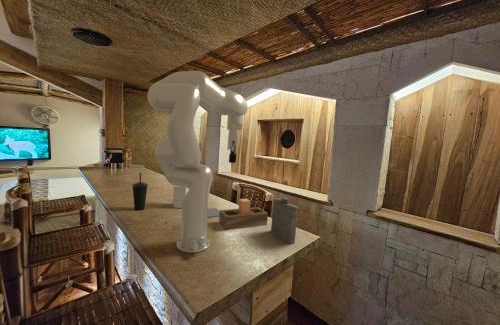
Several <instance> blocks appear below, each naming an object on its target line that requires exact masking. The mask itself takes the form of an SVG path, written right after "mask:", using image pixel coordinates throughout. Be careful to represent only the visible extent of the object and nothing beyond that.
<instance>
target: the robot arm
mask: <svg viewBox="0 0 500 325" xmlns="http://www.w3.org/2000/svg"><path fill="white" fill-rule="evenodd" d="M147 101H148V103H149V104H150V106H151V107H152V108H153V109H155V110H157V111H162V112H163V111H164V112H171V113H170V116H169V117H168V120H167V121H166V126H165V131H166V136H167V137H164V138H162V139H159V141H158V142H157V144H156V146H155V158H156V161H157V163H158V165H159V167H160V170H161V171H162V173H163V175H164V177H165V179H166V181H167V182H168V183H169V184H170V185H172V186H180V187H185V188H189V191H188V192H187V194H186V195H185V196H184V198H183V203H182V208H181V226H180V228H181V229H180V238H179V239H178V240H177V241H176V244H175V245H176V248H177V250H179V251H181V252H183V253H188V254H190V253H191V254H192V253H193V254H194V253H199V252H204V251H205V250H207V249H209V247H210V246H211V240H210V239H209V238H208V237H207V235H208V234H207V231H208V218H207V217H208V209H209V197H210V190H211V186H212V181H213V171H212V169H211V168H210V167H209V166H208V165H205V164H202V163H201V161H202V152H201V151H202V150H201V148H200V145H199V142H198V139H197V138H198V137H197V135H196V131H195V128H194V121H195V117H196V114H197V111H198V108H199V105H200V102H203V103H205V104H206V105H207V106H210V107H214V108H215V110H216V111H217V113H218V114H220V115H221V116H227V120H226V122H227V123H226V130H227V131H228V135H227V136H228V137H227V149H226V150H227V151H229V155H228V163H230V164H235V163H236V161H237V150H238V149H239V143H240V142H239V141H240V132H242V131H243V124H244V121H243V120H244V115H246V113H247V112H248V103H247V100H246V99H245V98H244V97H243V96H242V95H241V94H240V93H237V92H235V91H232V90H230V89H227V88H225V87H222V86H220V85H219V84H217V83H216V82H215V81H214V80H213V79H212V78H211V77H209V76H208V75H207V74H206V73H205V72H203V71H199V70H190V71H189V70H188V71H187V70H186V71H184V70H183V71H176V72H173V73H171V74H169V75H167V76H165V77H163V78H162V79H160V80H158V81H156V82H154V83H153V84H152V85H151V86H150V87H149V88H148V92H147Z"/></svg>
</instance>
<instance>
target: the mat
mask: <svg viewBox="0 0 500 325" xmlns="http://www.w3.org/2000/svg"><path fill="white" fill-rule="evenodd" d="M219 213H220V209H218V208H217V207H213V208H208V217H207V219H209V218H210V219H211V218H219Z"/></svg>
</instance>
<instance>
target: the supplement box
mask: <svg viewBox="0 0 500 325" xmlns="http://www.w3.org/2000/svg"><path fill="white" fill-rule="evenodd" d="M188 191H189V188H185V187H180V186H175V185H173V201H172V202H173V204H172V205H173V207H172V208H174V209H175V208H176V209H177V208H178V209H182V203H183V198H184V196H185V195H186V194H187V192H188Z"/></svg>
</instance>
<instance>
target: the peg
mask: <svg viewBox="0 0 500 325" xmlns="http://www.w3.org/2000/svg"><path fill="white" fill-rule="evenodd" d="M251 203H252V202H251V200H250V199H248V198H238V209H239V210H238V212H239V213H240V214H248V213H250V208H251Z"/></svg>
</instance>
